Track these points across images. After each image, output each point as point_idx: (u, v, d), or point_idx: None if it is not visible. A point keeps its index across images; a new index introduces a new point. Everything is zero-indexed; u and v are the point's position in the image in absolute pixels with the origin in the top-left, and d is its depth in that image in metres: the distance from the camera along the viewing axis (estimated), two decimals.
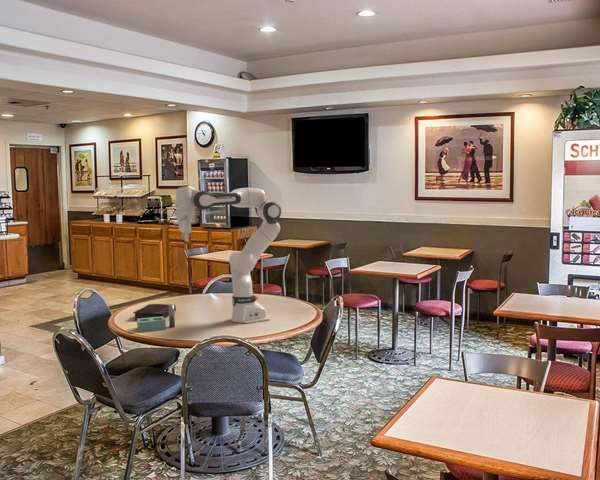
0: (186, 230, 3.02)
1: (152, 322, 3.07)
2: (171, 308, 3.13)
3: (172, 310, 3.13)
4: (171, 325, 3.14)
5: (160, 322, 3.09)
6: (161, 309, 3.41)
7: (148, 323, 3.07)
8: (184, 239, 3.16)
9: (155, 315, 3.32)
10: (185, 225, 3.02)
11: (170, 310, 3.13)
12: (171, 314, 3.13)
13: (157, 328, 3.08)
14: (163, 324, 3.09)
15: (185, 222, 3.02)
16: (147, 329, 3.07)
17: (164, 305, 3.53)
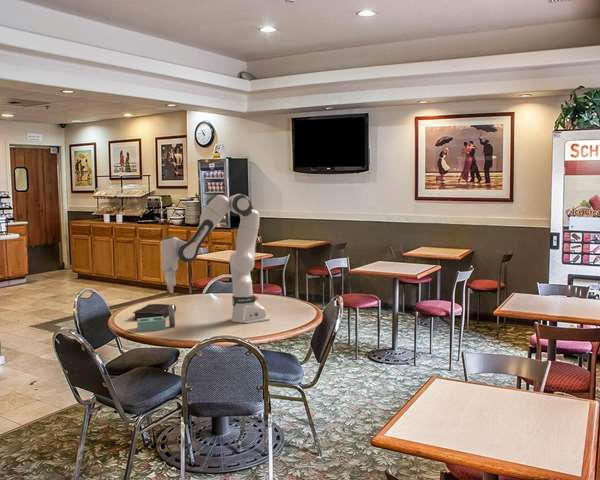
0: (170, 282, 3.03)
1: (152, 322, 3.07)
2: (171, 308, 3.13)
3: (172, 310, 3.13)
4: (171, 325, 3.14)
5: (160, 322, 3.09)
6: (161, 309, 3.41)
7: (148, 323, 3.07)
8: (169, 289, 3.17)
9: (155, 315, 3.32)
10: (169, 277, 3.03)
11: (170, 310, 3.13)
12: (171, 314, 3.13)
13: (157, 328, 3.08)
14: (163, 324, 3.09)
15: (169, 274, 3.03)
16: (147, 329, 3.07)
17: (164, 305, 3.53)
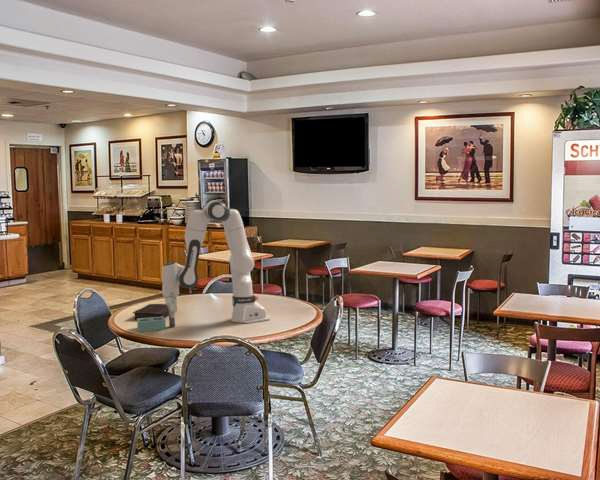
0: (172, 309, 3.04)
1: (152, 322, 3.07)
2: None
3: None
4: (171, 325, 3.14)
5: (160, 322, 3.09)
6: (161, 309, 3.41)
7: (148, 323, 3.07)
8: None
9: (154, 315, 3.32)
10: (171, 304, 3.04)
11: None
12: None
13: (157, 328, 3.08)
14: (163, 324, 3.09)
15: (171, 301, 3.04)
16: (147, 329, 3.07)
17: (164, 305, 3.53)
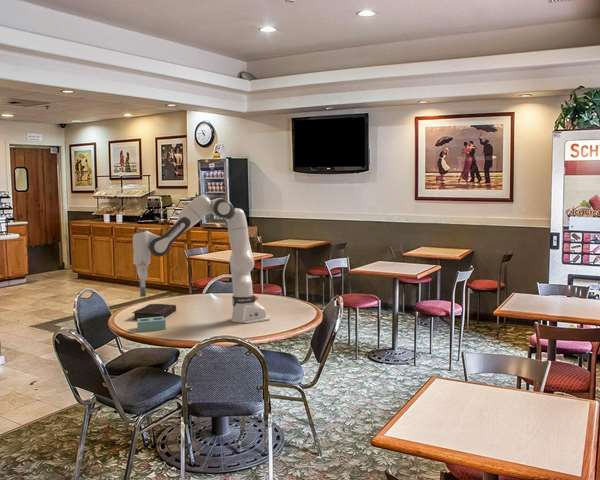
0: (142, 277, 2.98)
1: (152, 322, 3.07)
2: None
3: None
4: (142, 294, 3.08)
5: (160, 322, 3.09)
6: (161, 309, 3.41)
7: (148, 323, 3.07)
8: None
9: (154, 315, 3.32)
10: (141, 272, 2.98)
11: None
12: None
13: (157, 328, 3.08)
14: (163, 324, 3.09)
15: (141, 269, 2.99)
16: (147, 329, 3.07)
17: (164, 305, 3.53)
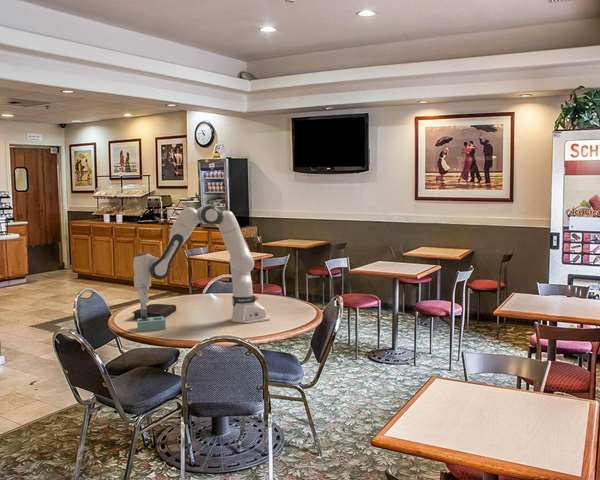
0: (143, 300, 3.00)
1: (152, 322, 3.07)
2: None
3: None
4: (143, 317, 3.09)
5: (160, 322, 3.09)
6: (161, 309, 3.41)
7: (148, 323, 3.07)
8: None
9: (154, 315, 3.32)
10: (142, 295, 3.00)
11: None
12: None
13: (157, 328, 3.08)
14: (163, 324, 3.09)
15: (142, 292, 3.00)
16: (147, 329, 3.07)
17: (165, 305, 3.53)
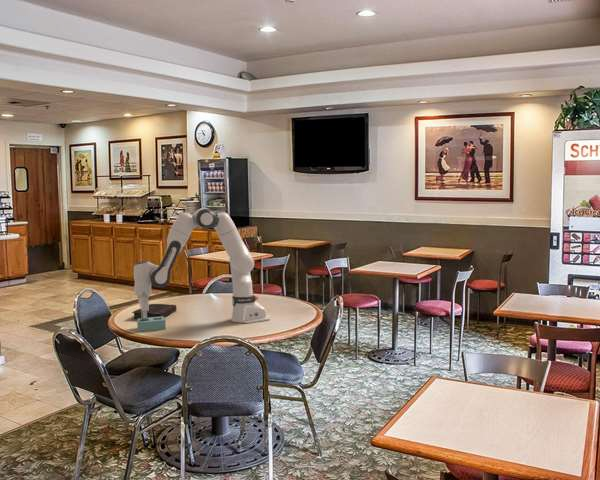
0: (143, 308, 3.00)
1: (152, 322, 3.07)
2: None
3: None
4: None
5: (160, 322, 3.09)
6: (161, 309, 3.41)
7: (148, 323, 3.07)
8: None
9: (153, 315, 3.32)
10: (142, 303, 3.00)
11: (142, 312, 3.09)
12: None
13: (157, 328, 3.08)
14: (163, 324, 3.09)
15: (142, 300, 3.00)
16: (147, 329, 3.07)
17: (165, 305, 3.52)
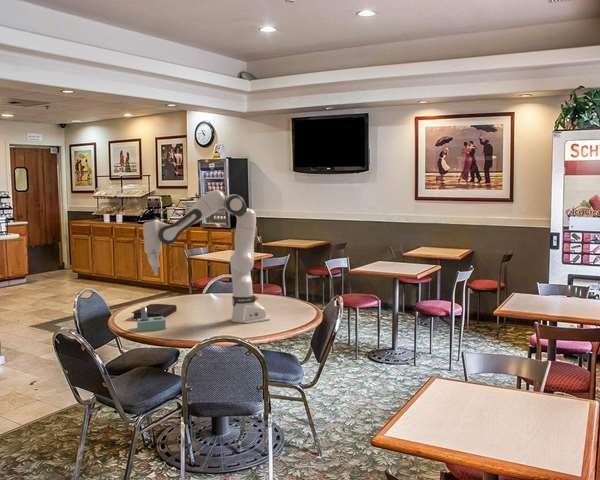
0: (154, 265, 3.04)
1: (152, 322, 3.07)
2: (143, 310, 3.09)
3: (144, 312, 3.09)
4: None
5: (160, 322, 3.09)
6: (160, 309, 3.41)
7: (148, 323, 3.07)
8: (154, 272, 3.18)
9: (153, 315, 3.32)
10: (153, 260, 3.04)
11: (142, 312, 3.09)
12: (143, 316, 3.09)
13: (157, 328, 3.08)
14: (163, 324, 3.09)
15: (153, 257, 3.04)
16: (147, 329, 3.07)
17: (165, 305, 3.52)
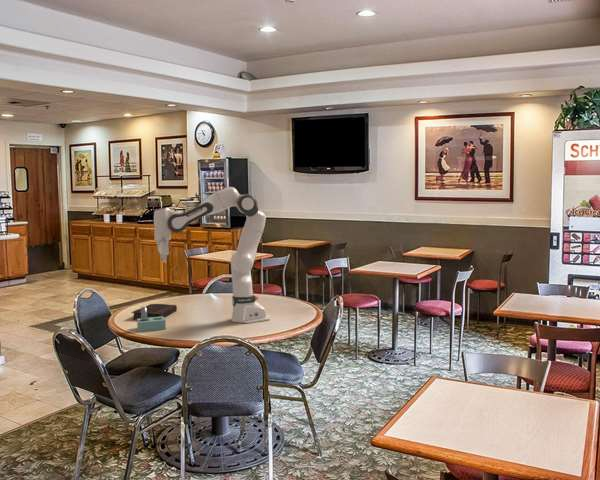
0: (163, 252, 3.09)
1: (152, 322, 3.07)
2: (143, 310, 3.09)
3: (144, 312, 3.09)
4: None
5: (160, 322, 3.09)
6: (160, 309, 3.41)
7: (148, 323, 3.07)
8: (162, 260, 3.23)
9: (153, 315, 3.32)
10: (162, 247, 3.09)
11: (142, 312, 3.09)
12: (143, 316, 3.09)
13: (157, 328, 3.08)
14: (163, 324, 3.09)
15: (162, 244, 3.09)
16: (147, 329, 3.07)
17: (165, 305, 3.52)
